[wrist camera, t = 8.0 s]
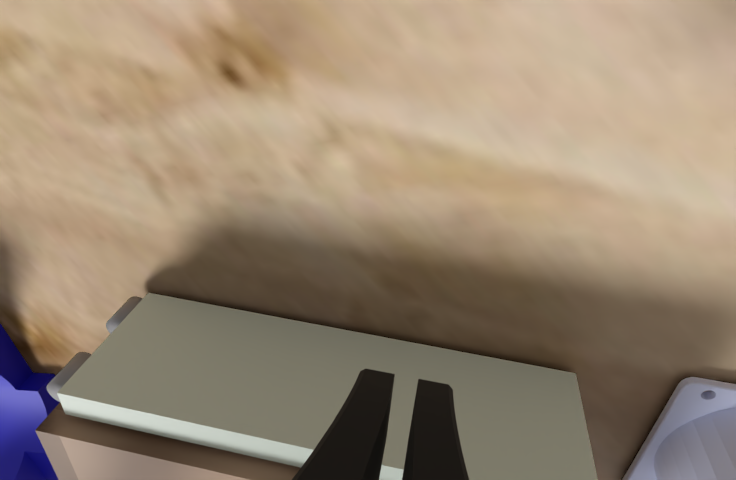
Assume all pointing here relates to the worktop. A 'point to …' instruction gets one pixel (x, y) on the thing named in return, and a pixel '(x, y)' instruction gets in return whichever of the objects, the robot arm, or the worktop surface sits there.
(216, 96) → the worktop surface
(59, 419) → the cabinet
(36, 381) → the cable clip
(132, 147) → the worktop surface
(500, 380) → the cabinet door
